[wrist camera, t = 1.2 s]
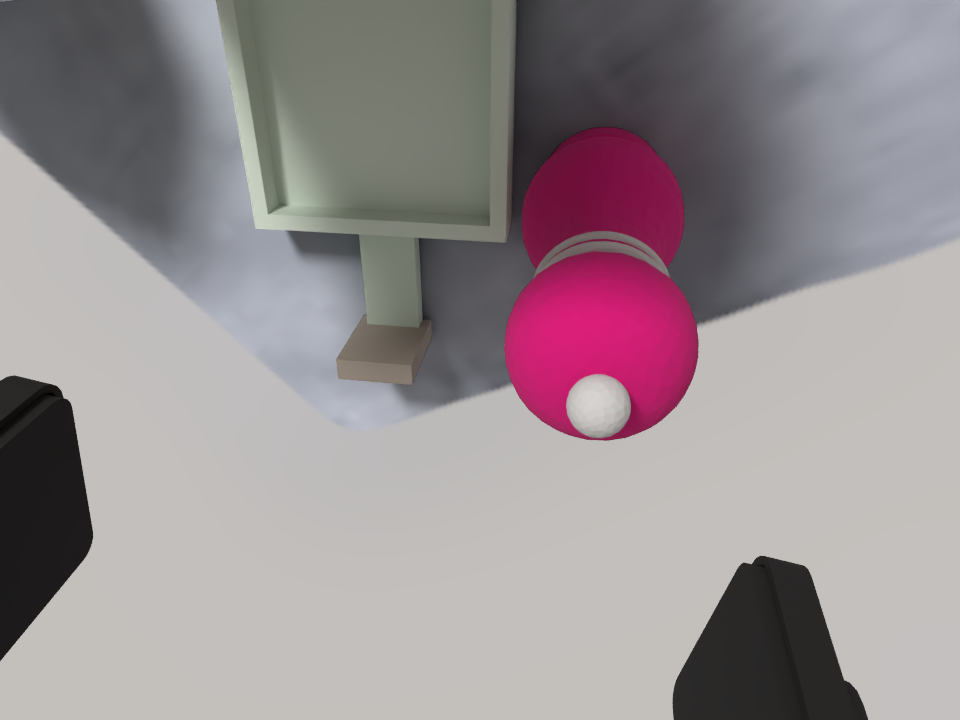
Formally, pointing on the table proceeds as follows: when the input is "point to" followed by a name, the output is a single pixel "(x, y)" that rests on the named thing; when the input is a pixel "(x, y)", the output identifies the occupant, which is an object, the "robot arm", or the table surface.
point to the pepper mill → (602, 290)
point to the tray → (377, 140)
